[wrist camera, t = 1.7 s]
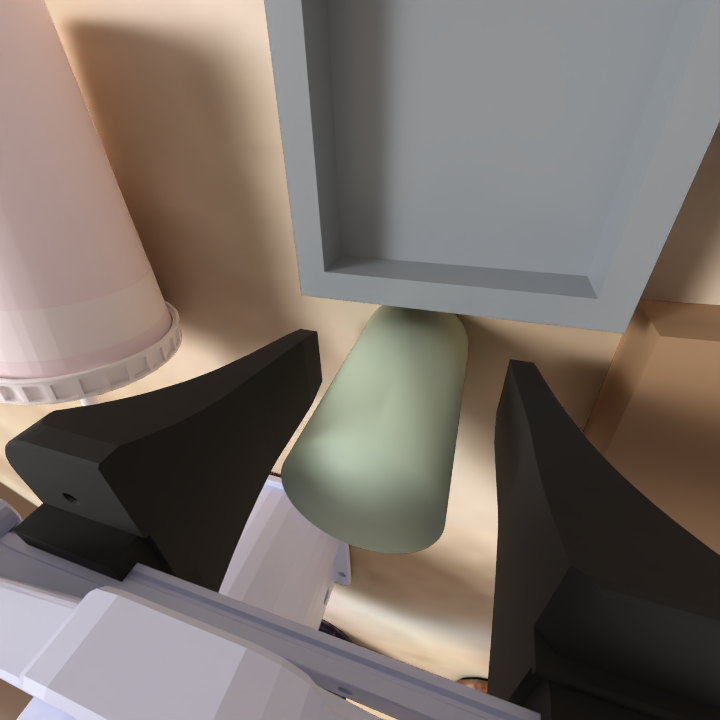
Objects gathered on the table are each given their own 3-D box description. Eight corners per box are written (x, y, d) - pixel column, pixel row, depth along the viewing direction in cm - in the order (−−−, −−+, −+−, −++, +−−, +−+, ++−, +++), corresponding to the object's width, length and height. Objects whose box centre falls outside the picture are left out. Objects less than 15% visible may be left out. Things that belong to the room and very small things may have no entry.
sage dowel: (461, 392, 13) (436, 571, 8) (366, 376, 14) (292, 528, 9) (476, 302, 11) (455, 467, 6) (365, 290, 12) (268, 425, 7)
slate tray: (607, 301, 10) (624, 333, 9) (324, 272, 12) (301, 295, 11) (817, -231, 5) (930, -349, 4) (290, -121, 8) (242, -171, 6)
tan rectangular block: (747, 515, 13) (787, 584, 11) (560, 477, 15) (568, 532, 13) (932, 313, 9) (1051, 373, 7) (632, 292, 10) (659, 335, 8)
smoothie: (-394, -139, 4) (57, 537, 12) (153, 1, 9) (231, 436, 16) (-294, -41, 8) (9, 438, 15) (64, 25, 12) (163, 375, 20)
